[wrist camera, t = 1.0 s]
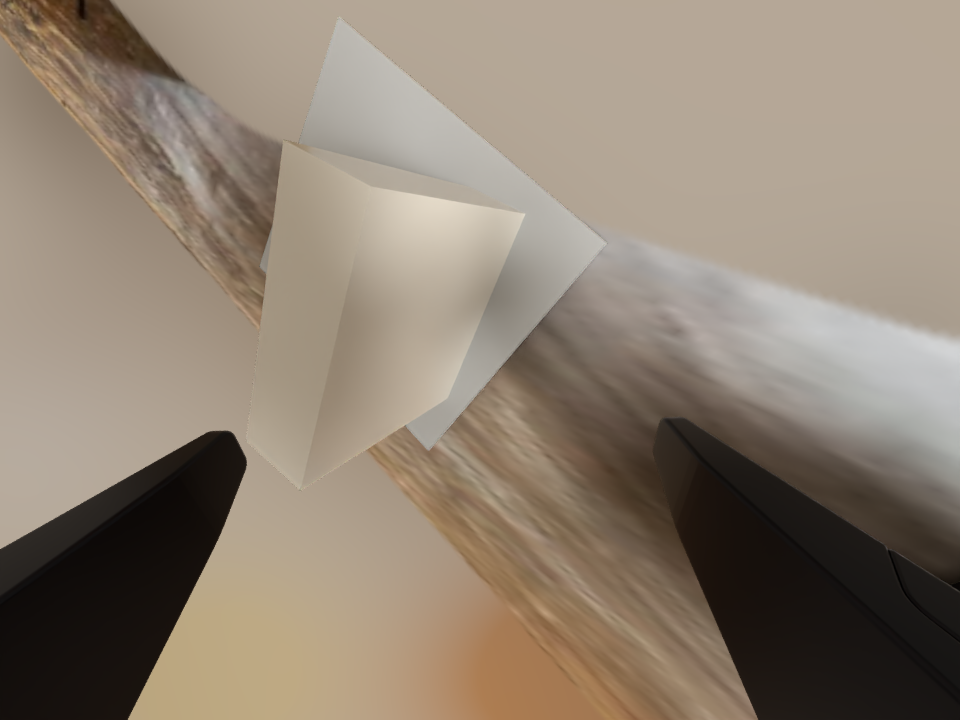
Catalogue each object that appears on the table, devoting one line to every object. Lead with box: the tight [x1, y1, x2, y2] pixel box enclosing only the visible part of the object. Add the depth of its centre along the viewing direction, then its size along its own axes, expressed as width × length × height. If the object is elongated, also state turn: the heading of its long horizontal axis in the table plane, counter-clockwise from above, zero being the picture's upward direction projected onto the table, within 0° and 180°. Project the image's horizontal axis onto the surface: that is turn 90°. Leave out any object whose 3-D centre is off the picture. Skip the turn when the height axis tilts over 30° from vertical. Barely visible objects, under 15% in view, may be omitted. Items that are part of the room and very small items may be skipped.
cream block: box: [246, 140, 525, 491], centre depth 16 cm, size 4×11×10 cm, turn 156°
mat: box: [259, 17, 607, 451], centre depth 22 cm, size 18×16×1 cm
